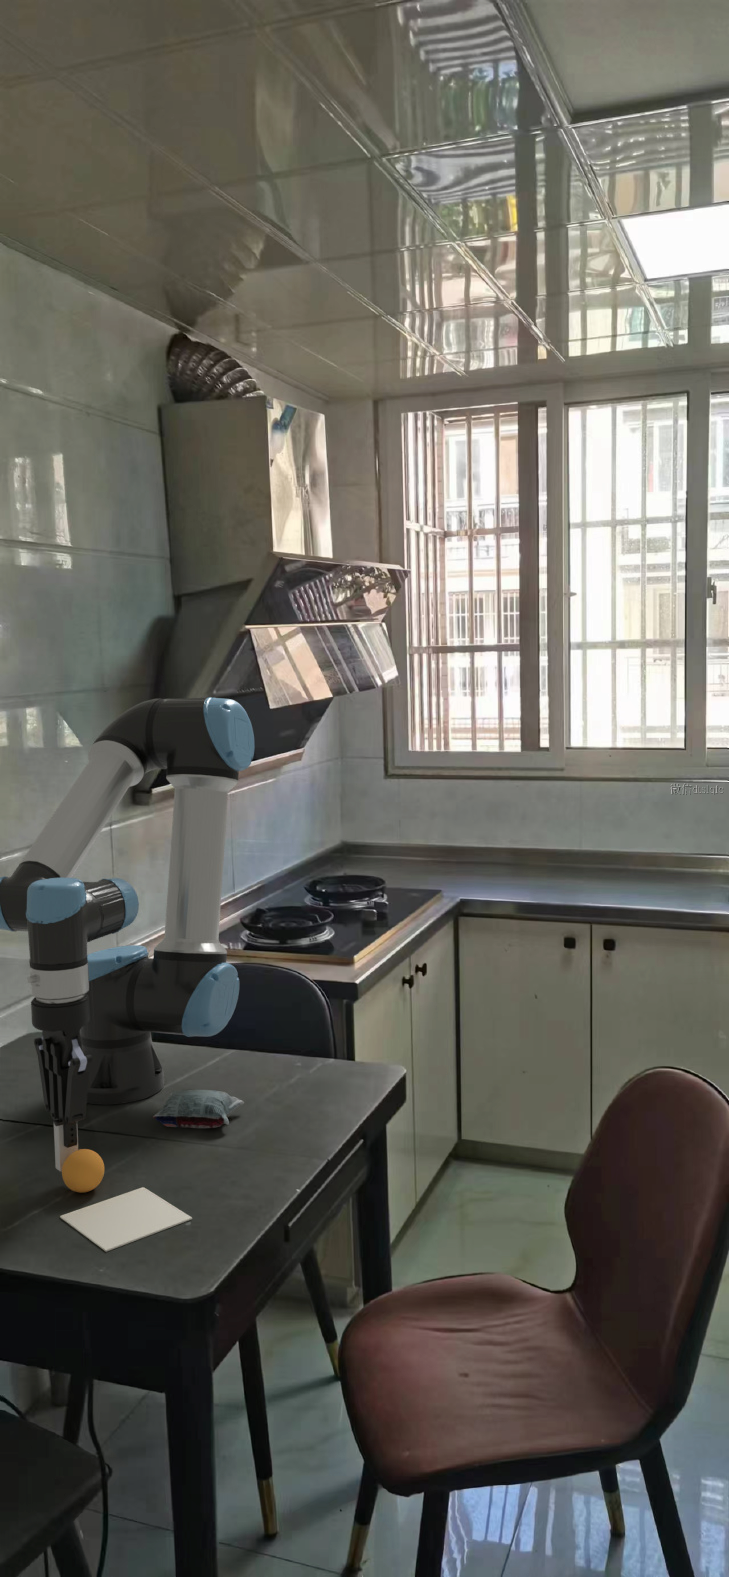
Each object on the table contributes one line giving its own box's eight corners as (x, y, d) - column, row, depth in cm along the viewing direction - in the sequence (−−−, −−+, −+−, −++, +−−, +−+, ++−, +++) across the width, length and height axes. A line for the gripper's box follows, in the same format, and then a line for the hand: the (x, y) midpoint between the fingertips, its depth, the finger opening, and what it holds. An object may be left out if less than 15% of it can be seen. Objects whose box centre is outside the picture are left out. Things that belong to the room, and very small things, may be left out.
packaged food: (172, 1110, 185) (170, 1080, 185) (245, 1113, 183) (243, 1083, 183) (152, 1133, 177) (150, 1101, 176) (228, 1137, 175) (227, 1104, 174)
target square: (59, 1217, 150) (59, 1215, 150) (143, 1188, 157) (143, 1187, 157) (106, 1251, 141) (105, 1250, 141) (192, 1219, 148) (192, 1217, 148)
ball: (53, 1183, 158) (55, 1148, 156) (90, 1170, 162) (93, 1136, 160) (72, 1206, 154) (75, 1170, 152) (110, 1192, 158) (113, 1157, 156)
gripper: (13, 991, 160) (20, 1159, 162) (54, 1011, 150) (62, 1190, 152) (65, 981, 164) (71, 1145, 167) (108, 1000, 154) (115, 1174, 157)
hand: (67, 1166), depth 159 cm, fingers closed
